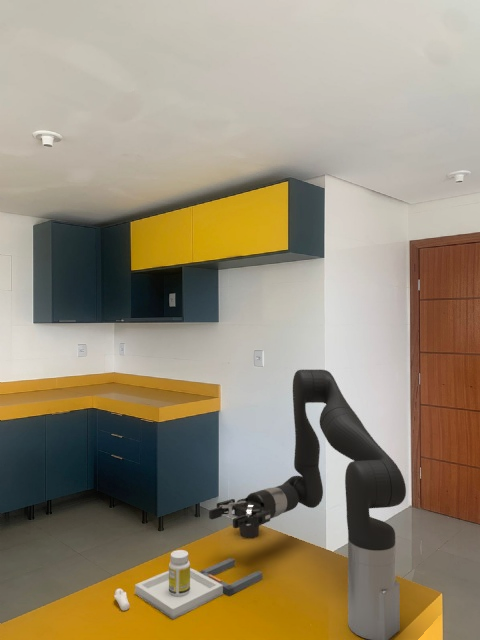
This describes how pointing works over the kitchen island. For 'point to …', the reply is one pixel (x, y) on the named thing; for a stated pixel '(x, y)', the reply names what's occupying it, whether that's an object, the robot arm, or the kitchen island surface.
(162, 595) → the tray
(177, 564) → the supplement bottle
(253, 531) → the coffee cup
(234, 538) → the kitchen island surface
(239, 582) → the holder
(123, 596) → the small white plastic part
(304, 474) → the robot arm
